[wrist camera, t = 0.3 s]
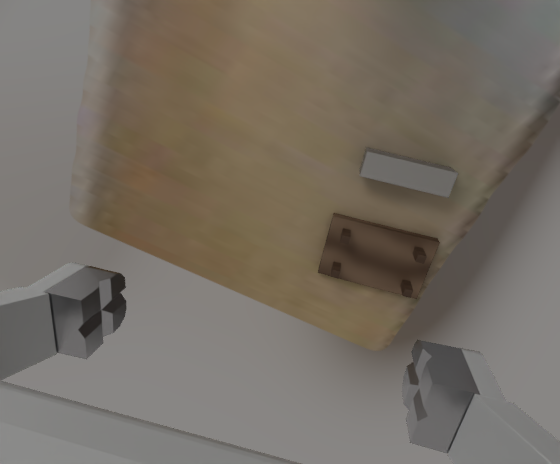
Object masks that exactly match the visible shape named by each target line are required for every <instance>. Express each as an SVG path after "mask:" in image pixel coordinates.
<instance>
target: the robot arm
mask: <svg viewBox="0 0 560 464" xmlns="http://www.w3.org/2000/svg"><path fill="white" fill-rule="evenodd" d="M125 288H126V286H125V277H124V276H123V275H122V274H120V273H117V272H113V271H108V270H104V269H100V268H96V267H92V266H88V265H83V264H79V263H68V264H66V265H65V266H63V267H61V268H59V269H58V270H56V271H54V272H53V273H51V274H49V275H47V276H46V277H44V278H42V279H41V280H39V281H37V282H35V283H34V284H32V285H30V286H29V287H27V288H22V287H18V288H14V289H9V290H5V291H0V380H3V379H5V378H7V377H9V376H11V375H13V374H15V373H17V372H20V371H22V370H24V369H26V368H28V367H30V366H32V365H35V364H37V363H39V362H41V361H43V360H45V359H47V358H50V357H52V356H53V355H56V354H57V353H61V354H66V355H71V356H74V357H79V358H84V359H87V358H88V357H89V356H90V355H92V354H93V352H95V350H97V349H98V348H99V347H100V345H102V344H103V337H104V336H106V335H109V334H111V333H114V332H115V331H116V329H118V327H120V325H121V323H122V321H123V319H124V317H125V313H126V300H125V299H124V297H123V296H122V294H121V292H122V291H123V290H124V289H125ZM412 357H413V363H411V364H409V365H408V366H407V368H406V371H405V374H404V380H403V387H402V394H403V403H404V405H405V406H406V407H407V408H408V410H409V412H408V415H407V418H406V422H407V427H408V433H409V439H410V443H413V444H416V445H420V446H423V447H427V448H430V449H434V450H437V451H441V452H444V453H448V457H449V458H450V460H451V461H452V462H453V464H560V441H559V440H557V439H556V438H555V437H554V436H553V435H552V434H550V433H549V432H548V431H547V430H545V429H544V428H543V427H542V426H540V425H539V424H538V423H537V422H536V421H535V420H533V419H532V418H531V417H529V415H527V414H526V413H525V412H524V411H523V410H521V409H520V408H519V407H518V406H516V405H515V404H514V403H511V402H507V401H506V399H505V397H504V395H503V393H502V391H501V389H500V387H499V385H498V383H497V381H496V380H495V377H494V375H493V373H492V371H491V370H490V368H489V366H488V364H487V362H486V360H485V358H484V356H483V354H481V353H480V352H478V351H473V350H468V349H463V348H456V347H451V346H446V345H441V344H436V343H431V342H426V341H421V340H417V341H416V342H415V344H414V347H413V350H412ZM0 464H301V463H297V462H293V461H290V460H286V459H283V458H279V457H276V456H272V455H268V454H265V453H261V452H258V451H254V450H251V449H246V448H243V447H239V446H236V445H232V444H229V443H225V442H221V441H217V440H214V439H211V438H206V437H203V436H199V435H196V434H192V433H189V432H185V431H181V430H178V429H174V428H170V427H167V426H163V425H160V424H156V423H152V422H149V421H145V420H141V419H137V418H134V417H130V416H127V415H123V414H119V413H116V412H112V411H109V410H105V409H101V408H98V407H94V406H90V405H87V404H83V403H79V402H76V401H72V400H69V399H65V398H61V397H58V396H54V395H50V394H47V393H43V392H40V391H36V390H32V389H29V388H25V387H21V386H18V385H14V384H11V383H7V382H3V381H0Z"/></svg>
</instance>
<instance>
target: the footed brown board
mask: <svg viewBox="0 0 560 464" xmlns="http://www.w3.org/2000/svg"><path fill="white" fill-rule="evenodd" d="M439 243H440V242H439V241H438V239H436V238H432V237H428V236H424V235H420V234H416V233H412V232H408V231H404V230H400V229H396V228H392V227H388V226H384V225H380V224H376V223H372V222H368V221H364V220H360V219H356V218H352V217H348V216H343V215H339V214H335V213H334V214H333V218H332V222H331V225H330V229H329V233H328V236H327V240H326V244H325V248H324V251H323V255H322V259H321V262H320V266H319V270H318V273H321V274H325V275H328V276H331V277H335V278H340V279H343V280H347V281H351V282H355V283H358V284H362V285H366V286H370V287H373V288H377V289H381V290H385V291H389V292H392V293H396V294H400V295H403V296H406V297H410V298H415V299H417V297H418V295H419V292H420V290H421V287H422V285H423V282H424V280H425V277H426V275H427V272H428V270H429V268H430V265H431V263H432V260H433V258H434V255H435V253H436V250H437V248H438V245H439Z"/></svg>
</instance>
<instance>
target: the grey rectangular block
mask: <svg viewBox="0 0 560 464" xmlns="http://www.w3.org/2000/svg"><path fill="white" fill-rule="evenodd" d="M359 171H360V176H362V177H366V178H370V179H374V180H378V181H382V182H386V183H390V184H394V185H398V186H402V187H406V188H410V189H414V190H419V191H423V192H427V193H431V194H435V195H439V196H443V197H447V198H448V197H449V195H450V192H451V190H452V188H453V185H454V183H455V180H456V178H457V175H458V173H457V172H456V171H455V170H453V169H452V168H451V167H447V166H443V165H439V164H434V163H430V162H426V161H422V160H418V159H413V158H409V157H405V156H401V155H397V154H392V153H388V152H384V151H380V150H376V149H371V148H367V147H366V150H365V153H364V156H363V160H362V163H361V166H360V170H359Z"/></svg>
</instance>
